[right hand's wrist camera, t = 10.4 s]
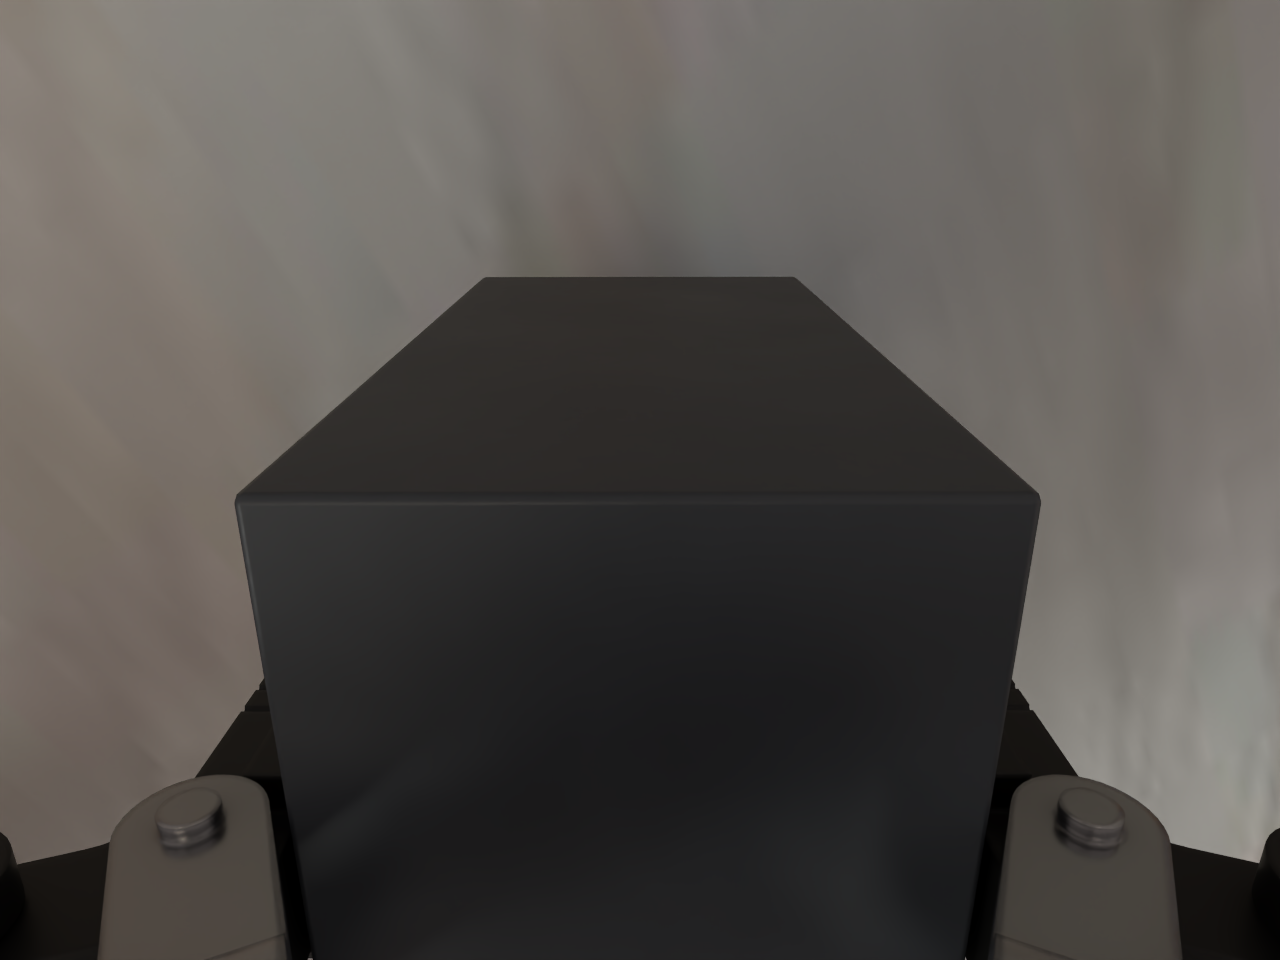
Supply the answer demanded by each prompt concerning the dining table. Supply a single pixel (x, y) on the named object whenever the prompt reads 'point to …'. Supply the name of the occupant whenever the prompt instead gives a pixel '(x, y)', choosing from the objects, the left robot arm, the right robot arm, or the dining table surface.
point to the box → (638, 635)
